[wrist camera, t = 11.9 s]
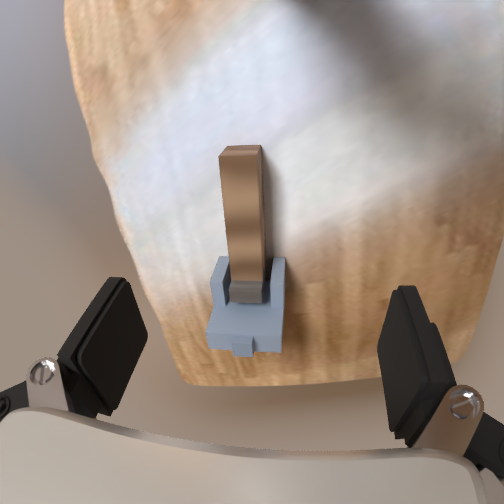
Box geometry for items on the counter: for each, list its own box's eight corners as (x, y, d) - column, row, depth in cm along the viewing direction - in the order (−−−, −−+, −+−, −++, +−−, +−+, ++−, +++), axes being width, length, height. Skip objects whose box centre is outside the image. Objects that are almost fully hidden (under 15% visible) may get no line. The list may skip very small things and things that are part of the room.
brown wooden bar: (227, 146, 38) (214, 161, 32) (260, 144, 37) (253, 160, 31) (238, 270, 47) (230, 302, 41) (266, 271, 46) (261, 303, 40)
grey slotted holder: (219, 256, 46) (197, 314, 36) (285, 257, 45) (280, 318, 34) (224, 295, 50) (207, 355, 39) (285, 297, 48) (280, 359, 38)
